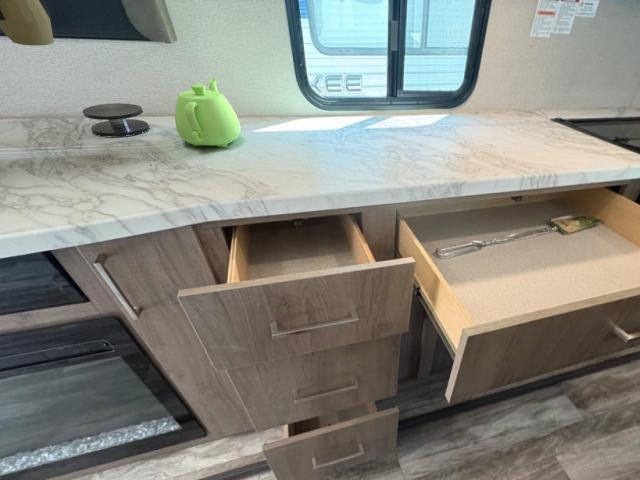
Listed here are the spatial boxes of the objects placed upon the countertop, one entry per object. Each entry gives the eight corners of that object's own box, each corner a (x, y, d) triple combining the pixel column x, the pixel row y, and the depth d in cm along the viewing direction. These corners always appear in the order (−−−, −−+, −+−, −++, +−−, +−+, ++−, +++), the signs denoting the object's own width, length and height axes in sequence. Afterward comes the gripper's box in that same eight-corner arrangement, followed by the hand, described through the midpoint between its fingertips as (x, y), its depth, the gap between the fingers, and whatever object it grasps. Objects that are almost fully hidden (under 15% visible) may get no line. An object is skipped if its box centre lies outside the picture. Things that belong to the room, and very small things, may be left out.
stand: (80, 133, 88) (68, 112, 84) (118, 120, 97) (109, 101, 94) (126, 140, 87) (116, 118, 83) (160, 126, 96) (152, 106, 93)
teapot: (200, 126, 99) (184, 73, 90) (253, 129, 100) (242, 77, 92) (169, 152, 83) (145, 91, 74) (232, 155, 84) (216, 96, 76)
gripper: (-182, -239, 37) (-24, 23, 53) (9, -170, 53) (88, 18, 68) (-238, -243, 38) (-65, 17, 53) (-34, -173, 53) (55, 14, 69)
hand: (21, 18), depth 61 cm, fingers closed on squeeze bottle, 8 cm apart
